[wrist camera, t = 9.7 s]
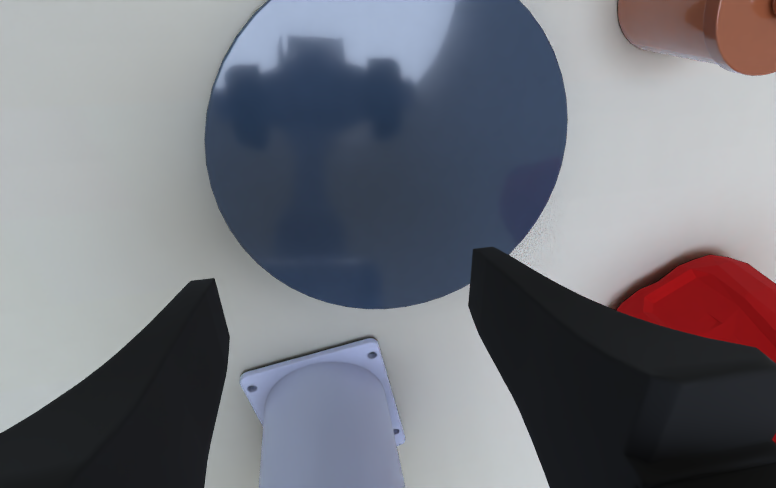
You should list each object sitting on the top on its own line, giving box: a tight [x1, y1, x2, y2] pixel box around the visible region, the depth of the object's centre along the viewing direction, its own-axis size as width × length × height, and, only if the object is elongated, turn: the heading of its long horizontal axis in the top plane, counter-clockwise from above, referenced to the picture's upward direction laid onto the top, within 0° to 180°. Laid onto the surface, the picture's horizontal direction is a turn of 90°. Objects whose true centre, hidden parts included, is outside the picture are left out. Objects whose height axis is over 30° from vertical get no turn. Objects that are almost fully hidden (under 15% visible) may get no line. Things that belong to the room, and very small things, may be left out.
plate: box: [205, 0, 568, 309], centre depth 21 cm, size 16×16×1 cm
